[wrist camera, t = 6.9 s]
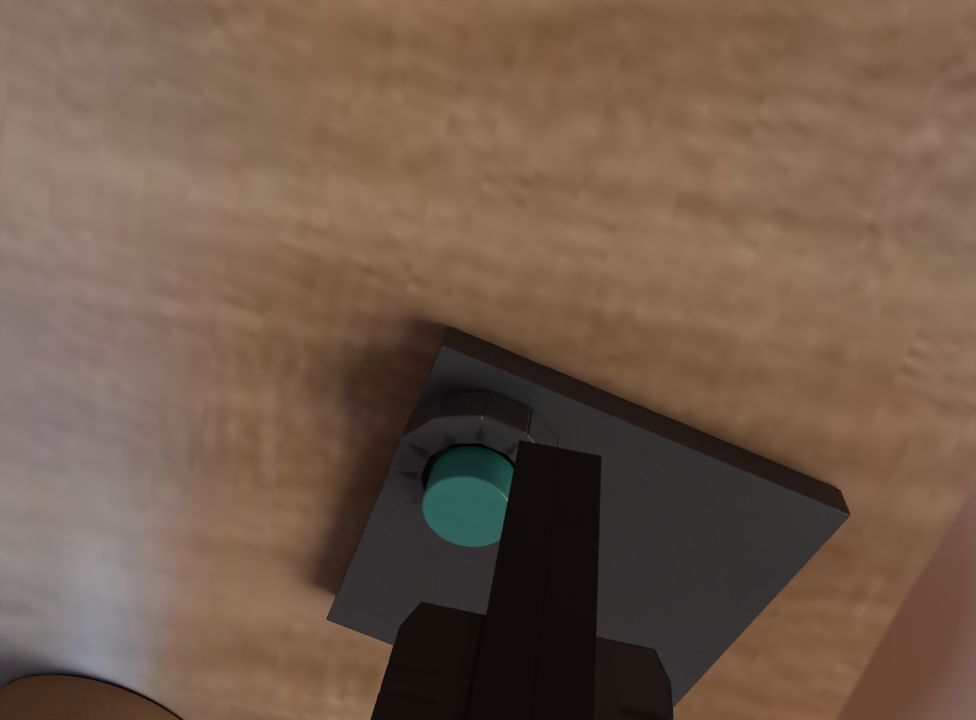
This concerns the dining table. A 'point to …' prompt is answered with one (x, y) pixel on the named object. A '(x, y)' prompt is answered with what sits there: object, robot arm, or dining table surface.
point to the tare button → (468, 496)
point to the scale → (623, 513)
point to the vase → (74, 701)
